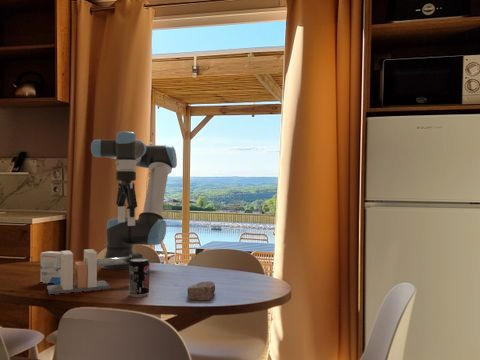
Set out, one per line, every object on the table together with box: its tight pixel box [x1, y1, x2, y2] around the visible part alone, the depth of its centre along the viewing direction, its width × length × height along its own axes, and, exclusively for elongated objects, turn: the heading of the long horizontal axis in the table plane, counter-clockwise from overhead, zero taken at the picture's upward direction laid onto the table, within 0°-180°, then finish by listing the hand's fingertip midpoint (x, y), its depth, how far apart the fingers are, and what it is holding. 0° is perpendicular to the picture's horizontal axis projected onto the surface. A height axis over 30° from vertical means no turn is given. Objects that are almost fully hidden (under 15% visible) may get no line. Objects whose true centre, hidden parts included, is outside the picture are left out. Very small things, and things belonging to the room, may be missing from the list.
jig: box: [46, 248, 110, 296], centre depth 153 cm, size 20×10×13 cm, turn 119°
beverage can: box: [128, 257, 150, 298], centre depth 144 cm, size 7×7×12 cm
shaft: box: [97, 253, 143, 267], centre depth 159 cm, size 19×4×4 cm, turn 119°
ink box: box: [39, 250, 61, 285], centre depth 163 cm, size 9×5×12 cm, turn 71°
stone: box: [187, 280, 216, 301], centre depth 143 cm, size 12×9×5 cm
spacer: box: [74, 260, 87, 288], centre depth 153 cm, size 3×8×8 cm, turn 29°
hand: (126, 223), depth 169 cm, fingers open, 13 cm apart
